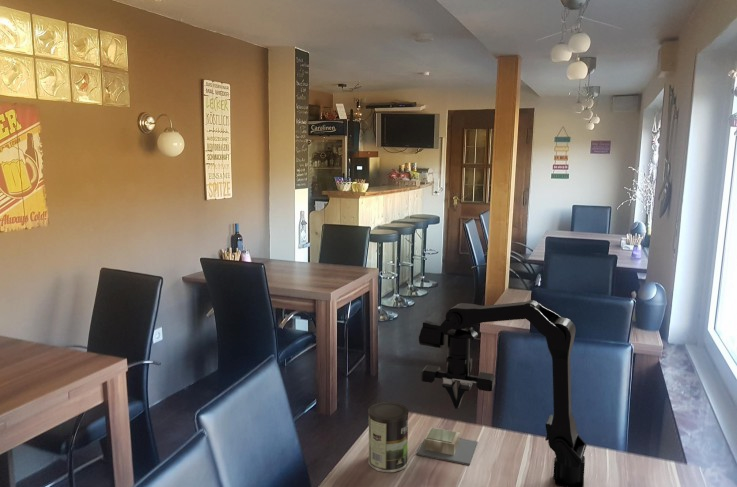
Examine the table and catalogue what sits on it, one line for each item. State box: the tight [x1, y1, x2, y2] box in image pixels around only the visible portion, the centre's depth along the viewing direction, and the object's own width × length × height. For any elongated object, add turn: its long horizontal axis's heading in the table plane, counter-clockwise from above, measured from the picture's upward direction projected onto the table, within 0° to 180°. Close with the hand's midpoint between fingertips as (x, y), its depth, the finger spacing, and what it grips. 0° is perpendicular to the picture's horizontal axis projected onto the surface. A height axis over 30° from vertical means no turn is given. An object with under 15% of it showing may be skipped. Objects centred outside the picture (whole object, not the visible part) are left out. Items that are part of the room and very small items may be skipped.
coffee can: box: [367, 401, 409, 473], centre depth 139 cm, size 10×10×14 cm
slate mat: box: [416, 437, 479, 466], centre depth 146 cm, size 14×12×1 cm
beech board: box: [424, 426, 461, 455], centre depth 146 cm, size 3×7×8 cm
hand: (456, 408), depth 144 cm, fingers closed
